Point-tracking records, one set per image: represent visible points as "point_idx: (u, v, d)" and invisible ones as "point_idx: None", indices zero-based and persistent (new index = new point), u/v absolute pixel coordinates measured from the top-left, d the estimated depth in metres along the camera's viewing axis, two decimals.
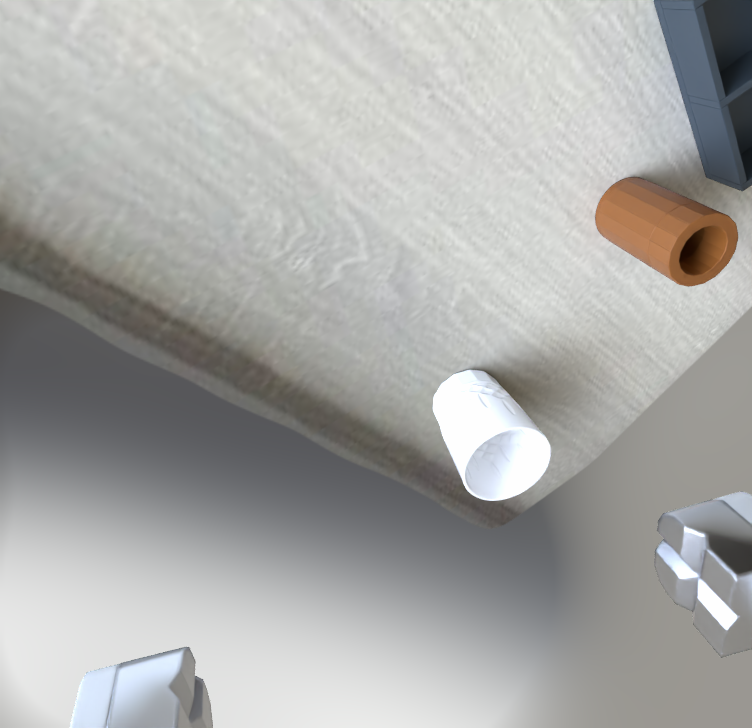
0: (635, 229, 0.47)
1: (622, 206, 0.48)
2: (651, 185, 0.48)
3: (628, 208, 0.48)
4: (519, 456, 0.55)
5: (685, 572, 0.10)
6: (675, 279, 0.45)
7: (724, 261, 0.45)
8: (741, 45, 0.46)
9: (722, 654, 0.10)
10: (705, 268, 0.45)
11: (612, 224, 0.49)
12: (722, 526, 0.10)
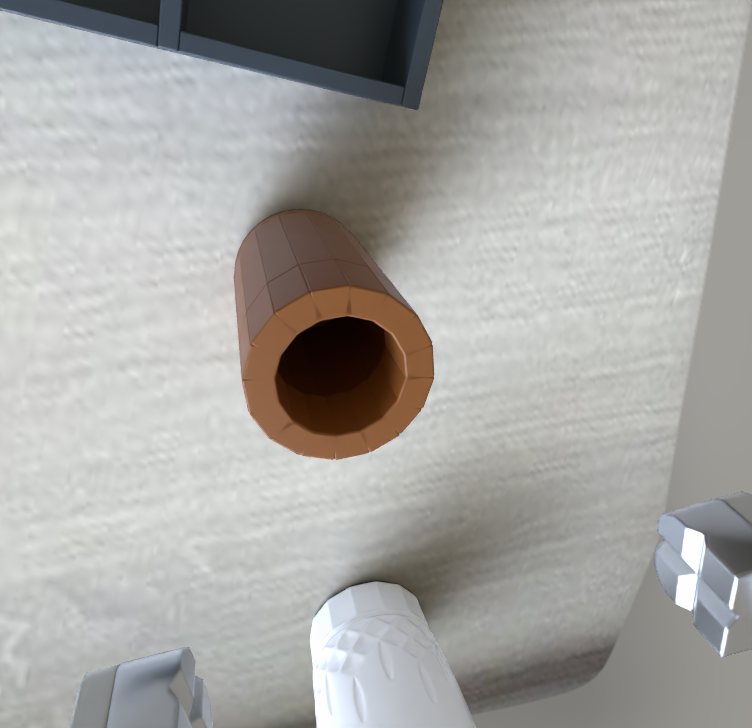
0: None
1: None
2: (254, 246, 0.22)
3: None
4: None
5: (685, 572, 0.10)
6: (350, 455, 0.19)
7: (417, 347, 0.17)
8: None
9: (722, 654, 0.10)
10: (399, 380, 0.18)
11: None
12: (722, 526, 0.10)
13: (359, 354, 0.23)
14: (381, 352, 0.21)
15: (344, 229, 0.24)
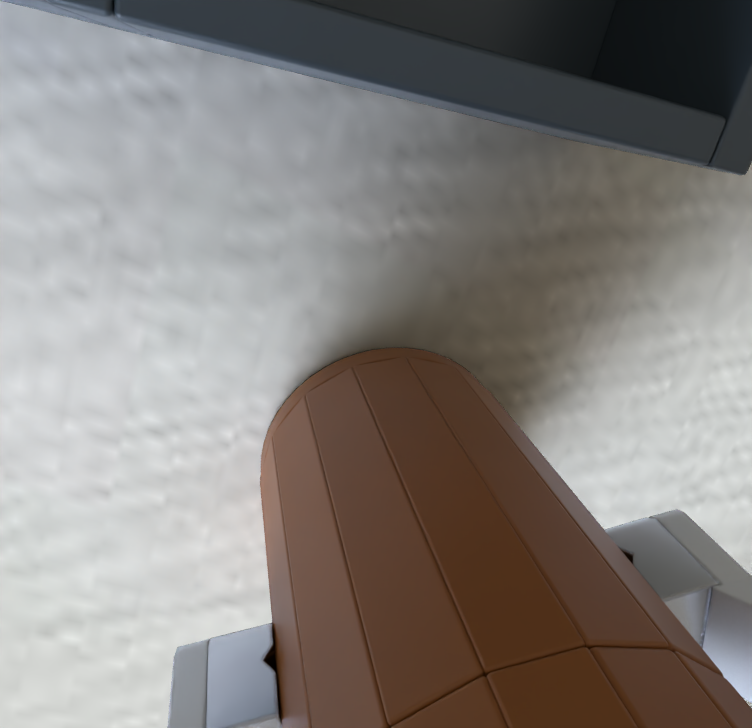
0: None
1: None
2: (311, 461, 0.10)
3: None
4: None
5: None
6: None
7: None
8: None
9: None
10: None
11: None
12: (652, 546, 0.09)
13: None
14: None
15: (485, 395, 0.12)
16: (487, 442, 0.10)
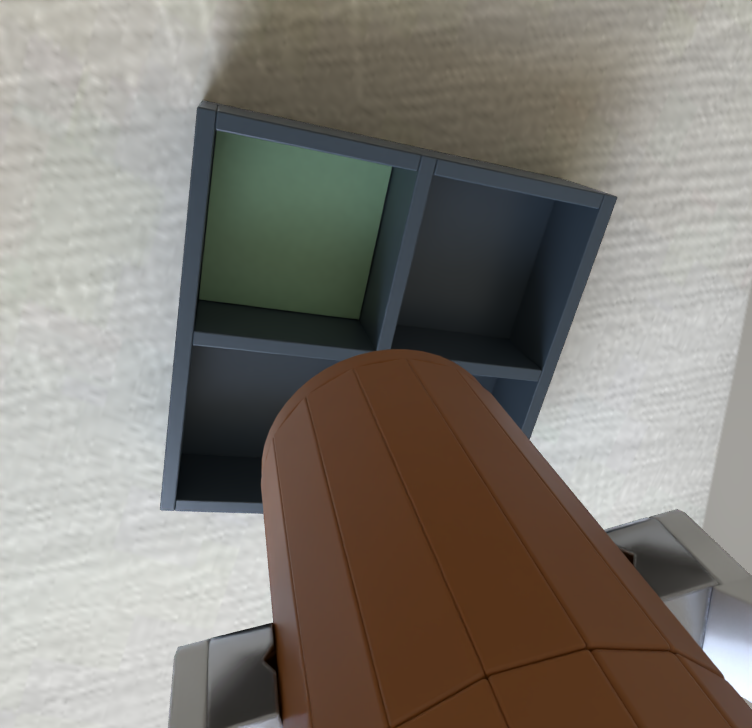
0: None
1: None
2: (312, 463, 0.10)
3: None
4: None
5: None
6: None
7: None
8: None
9: None
10: None
11: None
12: (652, 546, 0.09)
13: None
14: None
15: (485, 396, 0.12)
16: (488, 444, 0.10)
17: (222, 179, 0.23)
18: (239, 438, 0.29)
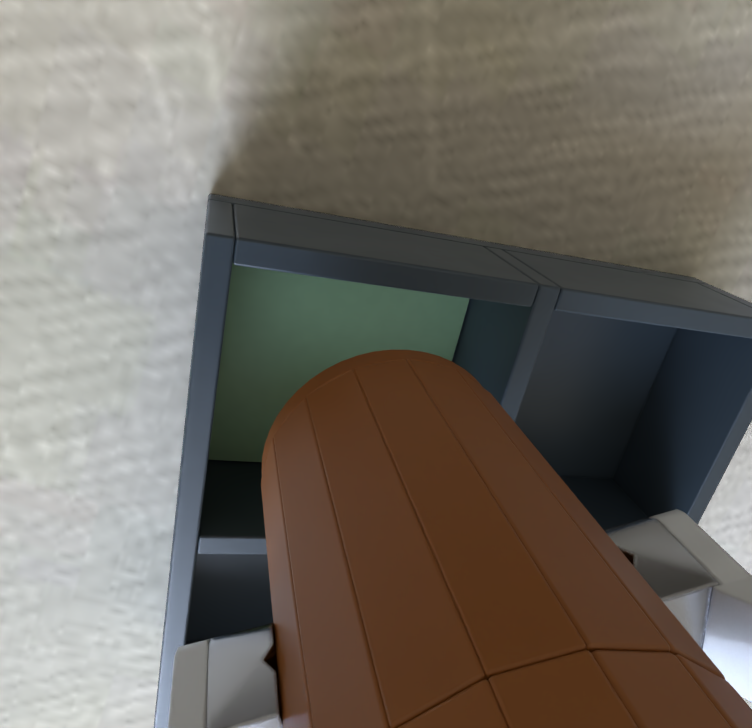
0: None
1: None
2: (312, 463, 0.10)
3: None
4: None
5: None
6: None
7: None
8: None
9: None
10: None
11: None
12: (652, 546, 0.09)
13: None
14: None
15: (486, 397, 0.12)
16: (488, 444, 0.10)
17: (238, 304, 0.16)
18: (258, 618, 0.21)
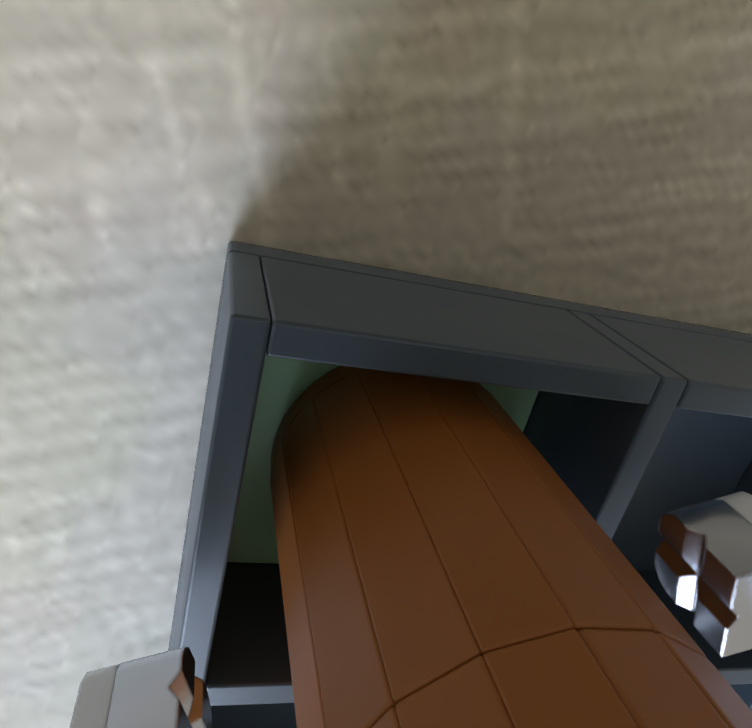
0: None
1: None
2: (319, 461, 0.11)
3: None
4: None
5: (685, 572, 0.10)
6: None
7: None
8: None
9: (722, 654, 0.10)
10: None
11: None
12: (722, 526, 0.10)
13: None
14: None
15: (484, 395, 0.12)
16: (486, 441, 0.10)
17: (262, 380, 0.13)
18: None
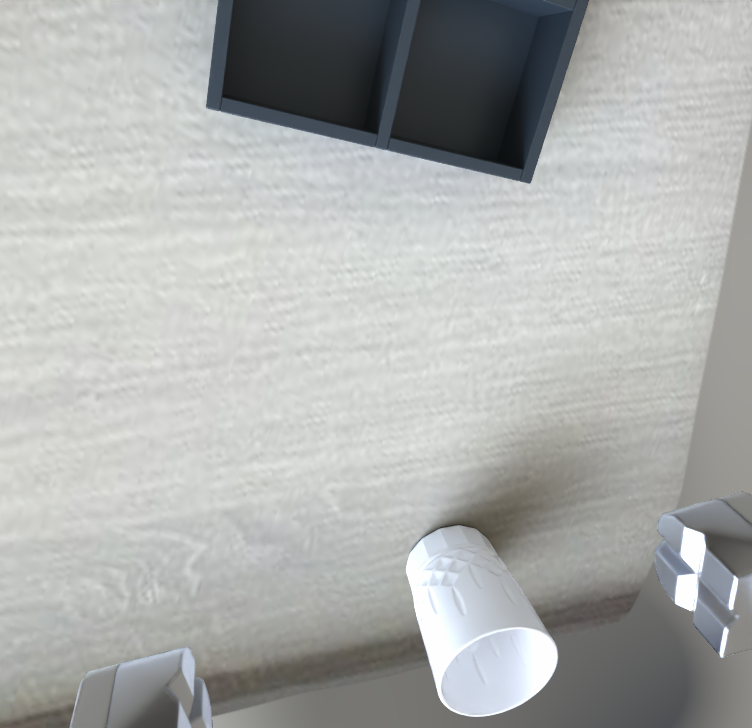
0: None
1: None
2: None
3: None
4: None
5: (685, 572, 0.10)
6: None
7: None
8: (367, 29, 0.29)
9: (721, 654, 0.10)
10: None
11: None
12: (722, 526, 0.10)
13: None
14: None
15: None
16: None
17: None
18: (279, 85, 0.29)
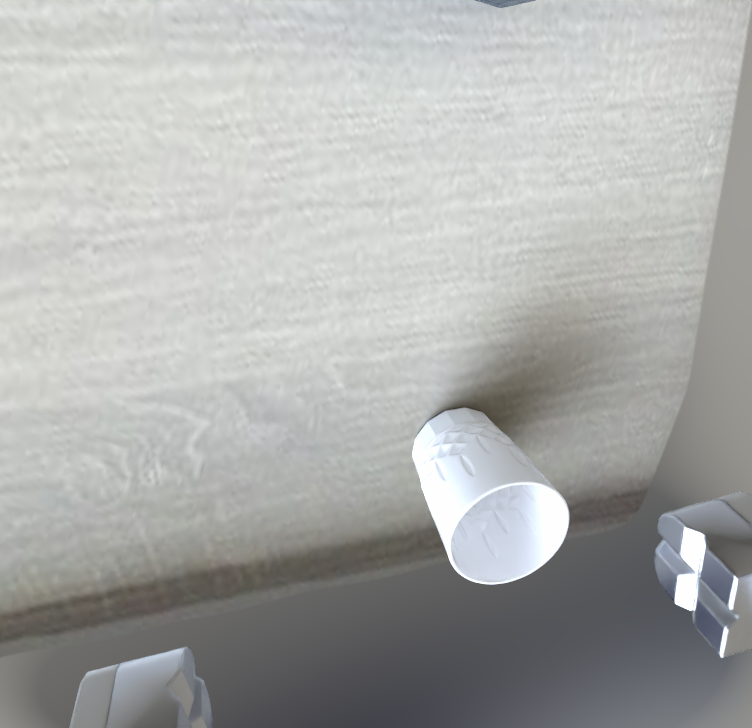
0: None
1: None
2: None
3: None
4: (539, 491, 0.40)
5: (685, 572, 0.10)
6: None
7: None
8: None
9: (721, 654, 0.10)
10: None
11: None
12: (722, 526, 0.10)
13: None
14: None
15: None
16: None
17: None
18: None
